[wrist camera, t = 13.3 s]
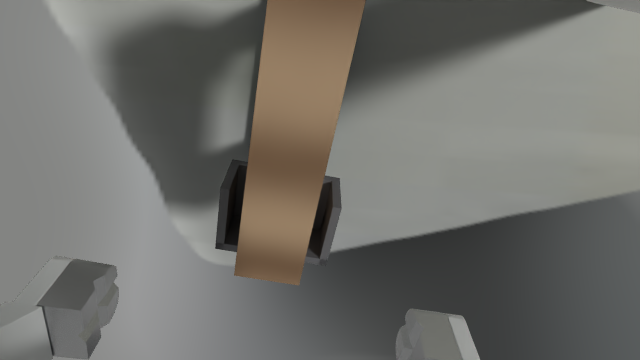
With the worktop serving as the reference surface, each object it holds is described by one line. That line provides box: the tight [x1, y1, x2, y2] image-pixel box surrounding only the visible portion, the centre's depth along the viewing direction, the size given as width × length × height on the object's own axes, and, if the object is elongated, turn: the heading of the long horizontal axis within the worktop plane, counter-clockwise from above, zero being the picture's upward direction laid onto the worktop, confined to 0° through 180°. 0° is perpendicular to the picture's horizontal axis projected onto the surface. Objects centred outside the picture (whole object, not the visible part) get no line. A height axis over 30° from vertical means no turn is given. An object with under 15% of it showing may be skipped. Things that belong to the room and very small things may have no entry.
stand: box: [215, 160, 341, 266], centre depth 27 cm, size 18×7×13 cm, turn 169°
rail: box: [234, 0, 366, 285], centre depth 21 cm, size 15×4×6 cm, turn 169°
